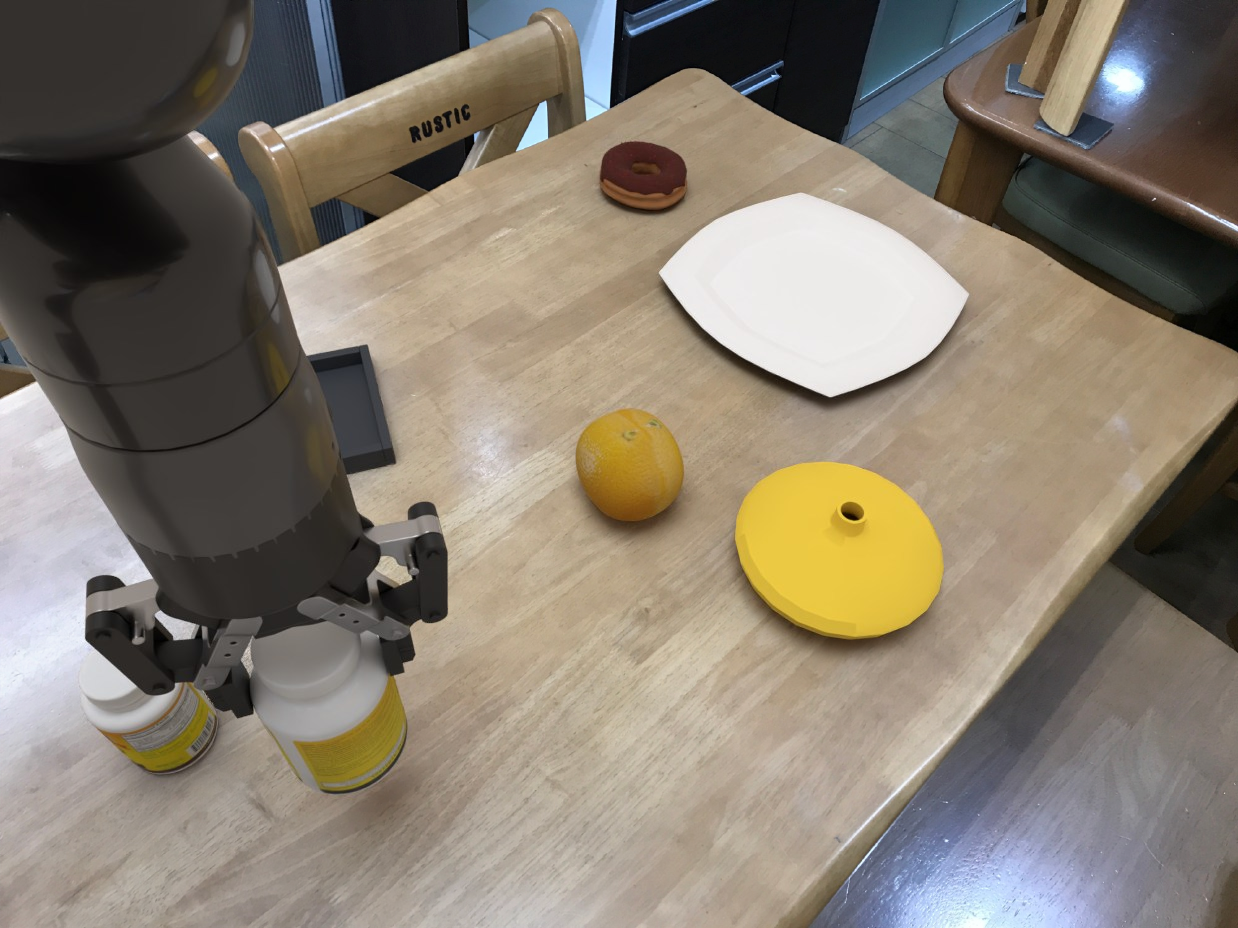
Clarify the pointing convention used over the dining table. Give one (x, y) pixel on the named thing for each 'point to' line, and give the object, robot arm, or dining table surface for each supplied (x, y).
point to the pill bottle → (329, 705)
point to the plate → (814, 293)
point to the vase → (838, 550)
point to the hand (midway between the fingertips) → (321, 677)
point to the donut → (643, 175)
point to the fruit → (629, 464)
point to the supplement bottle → (147, 717)
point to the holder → (355, 407)
